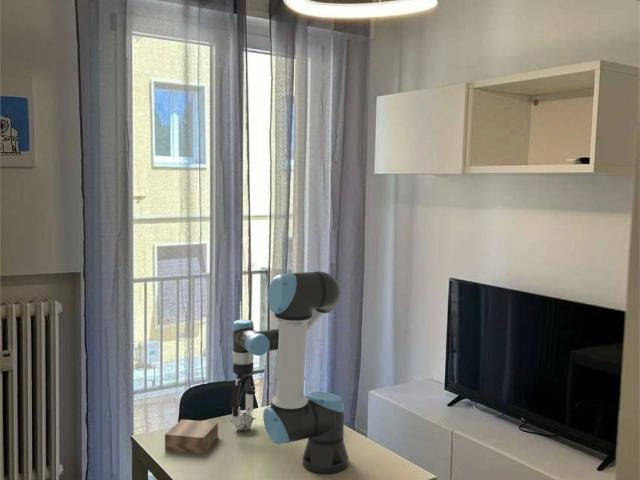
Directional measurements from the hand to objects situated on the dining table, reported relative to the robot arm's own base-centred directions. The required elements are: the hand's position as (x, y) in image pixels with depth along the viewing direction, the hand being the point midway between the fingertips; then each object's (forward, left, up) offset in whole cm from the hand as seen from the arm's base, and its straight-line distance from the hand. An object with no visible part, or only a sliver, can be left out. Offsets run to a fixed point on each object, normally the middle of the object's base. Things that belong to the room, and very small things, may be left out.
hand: (242, 417), depth 228 cm
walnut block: (+13, +16, -5) cm, 21 cm away
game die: (0, 0, -5) cm, 5 cm away
